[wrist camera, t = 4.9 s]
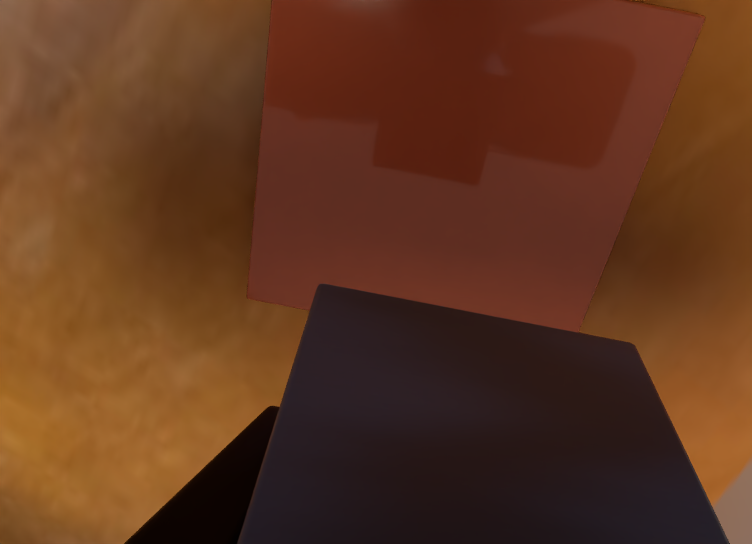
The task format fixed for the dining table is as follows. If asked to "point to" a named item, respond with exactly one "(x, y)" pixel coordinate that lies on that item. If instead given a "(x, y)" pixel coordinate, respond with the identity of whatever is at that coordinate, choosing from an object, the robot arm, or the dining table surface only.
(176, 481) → the dining table surface
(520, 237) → the terracotta tile
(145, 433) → the dining table surface
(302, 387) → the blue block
